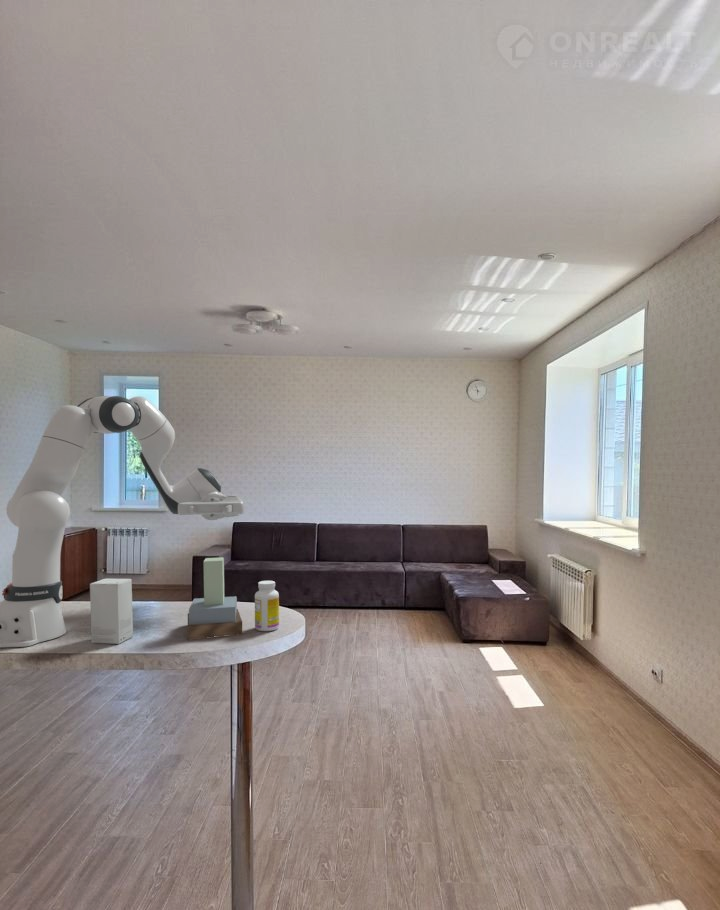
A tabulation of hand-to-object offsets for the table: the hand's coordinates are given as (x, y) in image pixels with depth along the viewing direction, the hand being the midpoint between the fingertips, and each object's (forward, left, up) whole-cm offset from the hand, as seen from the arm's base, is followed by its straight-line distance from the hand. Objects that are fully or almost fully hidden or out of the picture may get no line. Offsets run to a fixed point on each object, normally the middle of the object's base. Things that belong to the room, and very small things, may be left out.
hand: (209, 509), depth 164 cm
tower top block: (+1, -15, -29) cm, 32 cm away
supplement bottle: (+15, -19, -32) cm, 40 cm away
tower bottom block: (+1, -16, -33) cm, 36 cm away
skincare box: (-25, -17, -32) cm, 44 cm away
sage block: (+1, -15, -25) cm, 29 cm away
